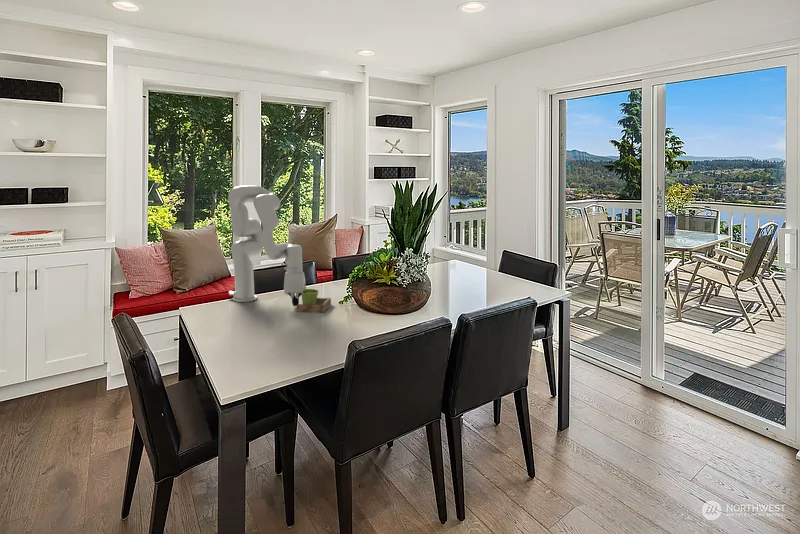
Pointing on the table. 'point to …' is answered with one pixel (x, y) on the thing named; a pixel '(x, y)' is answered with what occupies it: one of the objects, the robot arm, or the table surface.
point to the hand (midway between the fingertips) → (295, 305)
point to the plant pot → (309, 296)
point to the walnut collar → (315, 306)
